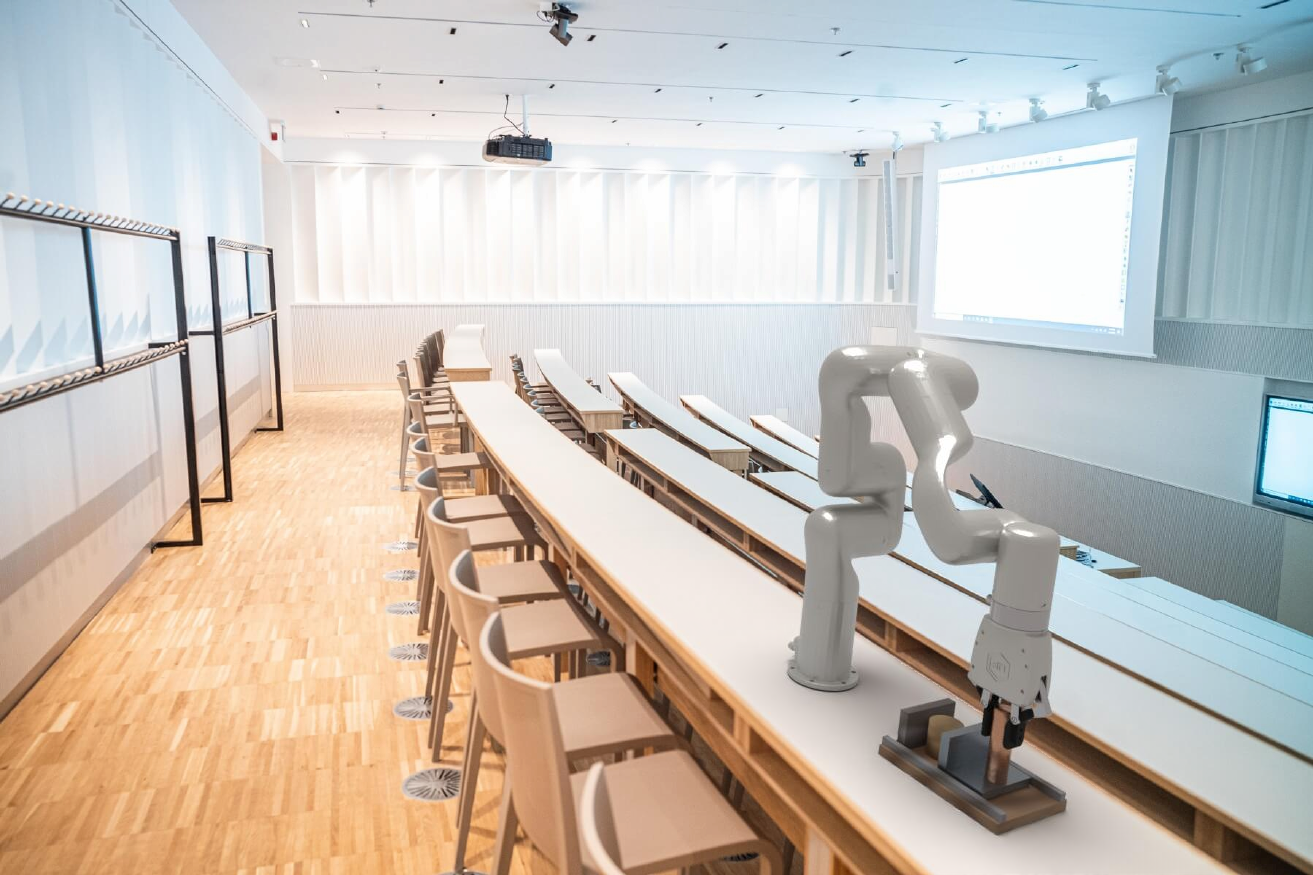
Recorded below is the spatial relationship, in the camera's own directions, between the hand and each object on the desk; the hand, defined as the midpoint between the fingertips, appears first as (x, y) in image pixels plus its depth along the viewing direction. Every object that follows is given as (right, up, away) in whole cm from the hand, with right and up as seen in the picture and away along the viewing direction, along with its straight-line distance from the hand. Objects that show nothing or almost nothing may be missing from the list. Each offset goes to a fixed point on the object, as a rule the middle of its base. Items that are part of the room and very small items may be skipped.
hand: (1001, 739), depth 126 cm
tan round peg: (-5, -5, +9) cm, 12 cm away
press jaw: (-1, -6, +3) cm, 7 cm away
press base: (-3, -8, +6) cm, 10 cm away
